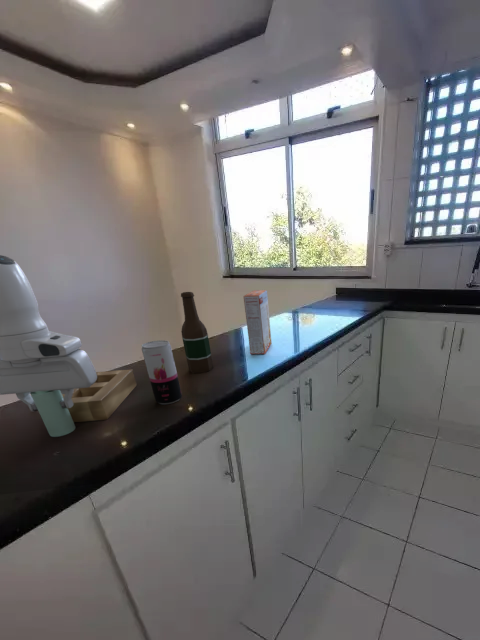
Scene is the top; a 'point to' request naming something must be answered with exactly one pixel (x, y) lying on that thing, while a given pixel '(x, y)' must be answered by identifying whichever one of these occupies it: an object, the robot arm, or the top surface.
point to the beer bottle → (195, 337)
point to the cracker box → (258, 321)
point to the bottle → (53, 412)
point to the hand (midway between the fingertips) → (53, 408)
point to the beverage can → (162, 371)
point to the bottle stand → (102, 395)
